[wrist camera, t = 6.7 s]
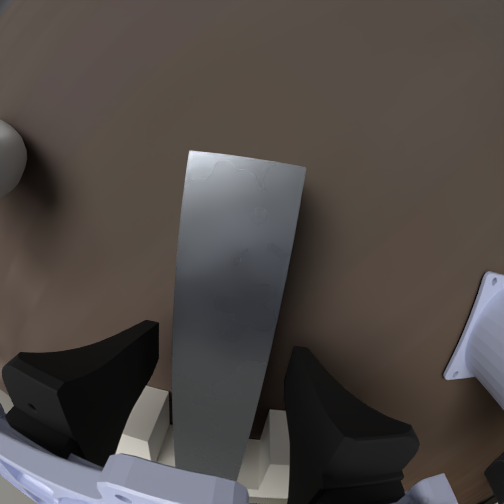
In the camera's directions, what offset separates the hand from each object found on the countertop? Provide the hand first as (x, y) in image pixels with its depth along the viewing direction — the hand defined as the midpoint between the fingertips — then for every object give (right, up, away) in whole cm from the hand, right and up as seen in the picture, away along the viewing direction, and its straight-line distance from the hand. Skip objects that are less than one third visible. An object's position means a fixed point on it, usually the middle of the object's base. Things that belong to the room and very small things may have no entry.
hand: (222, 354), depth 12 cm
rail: (0, +1, +3) cm, 3 cm away
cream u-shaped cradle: (-1, -7, +4) cm, 8 cm away
